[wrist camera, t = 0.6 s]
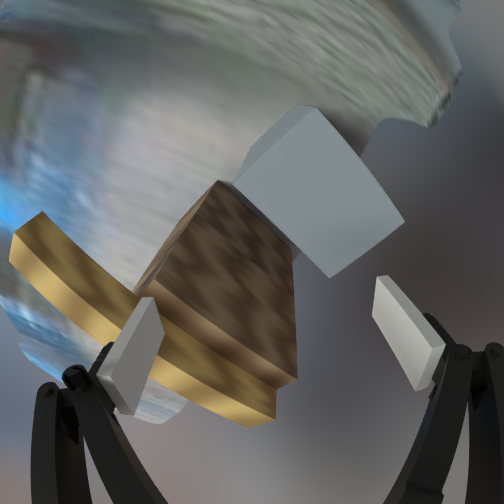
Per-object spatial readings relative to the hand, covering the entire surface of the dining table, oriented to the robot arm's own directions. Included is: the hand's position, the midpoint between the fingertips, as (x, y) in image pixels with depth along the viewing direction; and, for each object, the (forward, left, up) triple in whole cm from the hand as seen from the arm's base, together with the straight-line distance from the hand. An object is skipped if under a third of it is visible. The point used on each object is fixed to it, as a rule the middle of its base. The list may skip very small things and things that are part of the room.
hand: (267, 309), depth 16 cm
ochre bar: (+12, +4, -5) cm, 14 cm away
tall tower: (+10, +10, -33) cm, 35 cm away
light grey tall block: (-5, 0, -33) cm, 33 cm away
